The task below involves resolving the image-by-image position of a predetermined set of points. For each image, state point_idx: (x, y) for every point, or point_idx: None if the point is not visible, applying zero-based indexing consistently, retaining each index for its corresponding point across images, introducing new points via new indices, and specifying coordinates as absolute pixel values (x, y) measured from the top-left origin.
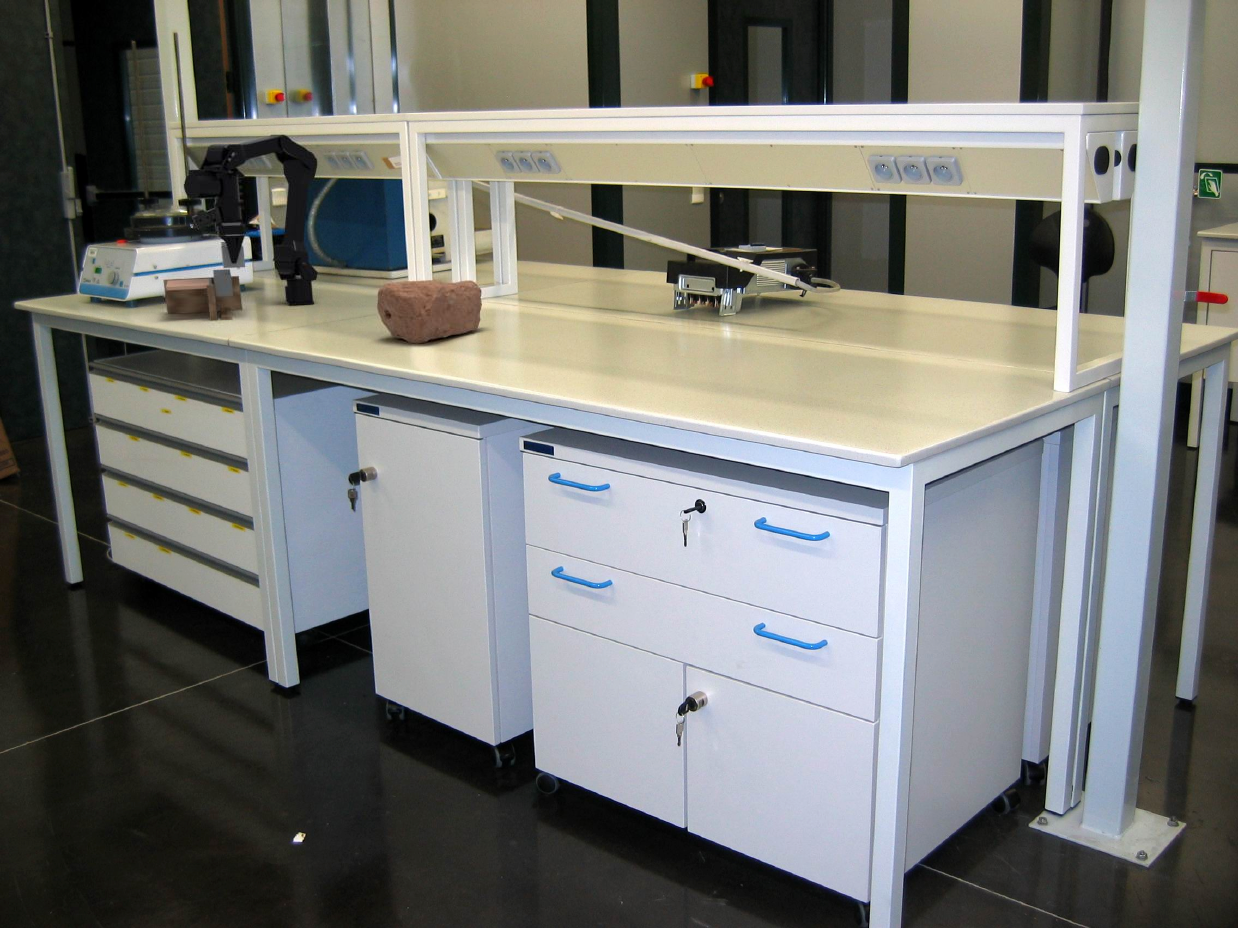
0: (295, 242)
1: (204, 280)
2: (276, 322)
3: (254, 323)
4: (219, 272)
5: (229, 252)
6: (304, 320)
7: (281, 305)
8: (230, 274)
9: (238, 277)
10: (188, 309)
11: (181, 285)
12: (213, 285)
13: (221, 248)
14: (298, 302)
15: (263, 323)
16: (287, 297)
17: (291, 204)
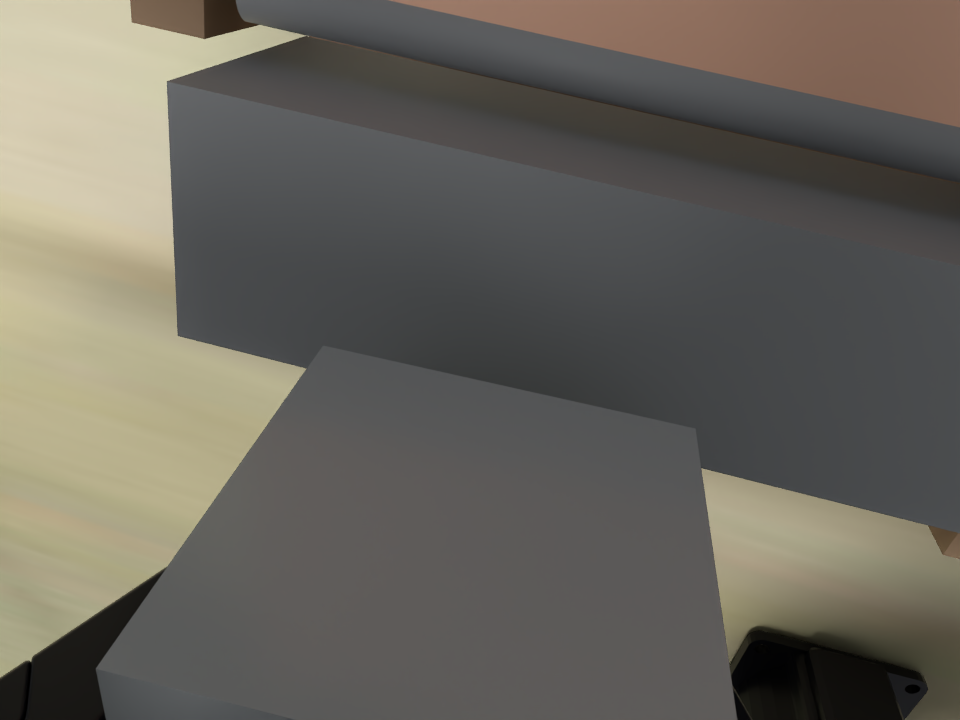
0: None
1: (934, 39)
2: (50, 339)
3: (47, 211)
4: (638, 298)
5: (73, 639)
6: (80, 480)
7: (832, 606)
8: (244, 349)
9: (941, 542)
10: None
11: None
12: (135, 18)
13: (499, 711)
14: (743, 685)
15: (30, 261)
16: (813, 682)
17: None
